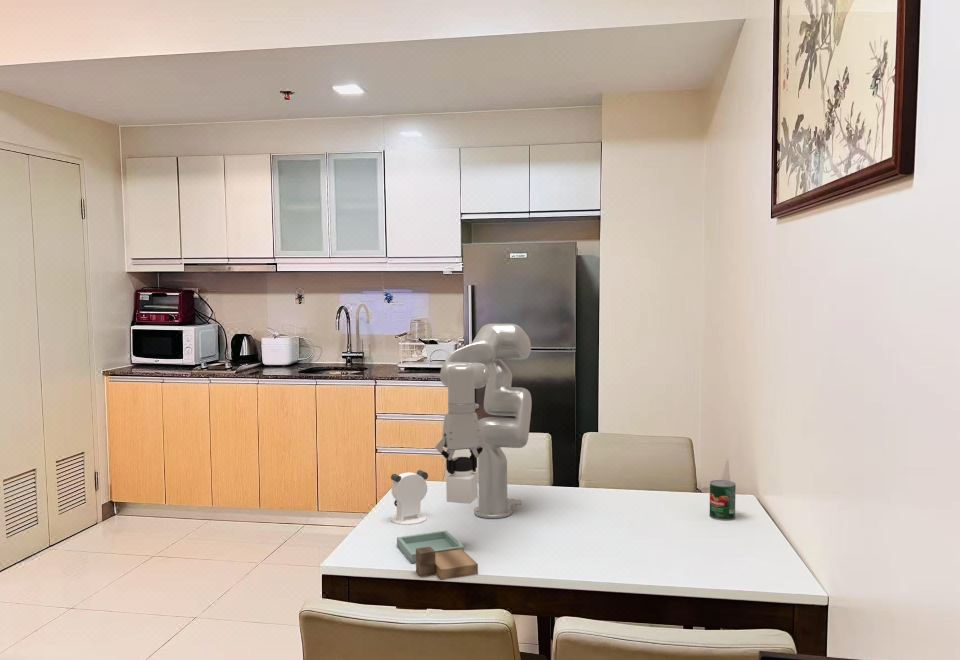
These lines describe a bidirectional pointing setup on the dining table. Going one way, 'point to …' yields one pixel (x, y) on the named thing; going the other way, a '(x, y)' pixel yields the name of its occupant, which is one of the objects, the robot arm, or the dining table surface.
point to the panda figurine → (409, 497)
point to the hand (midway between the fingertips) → (461, 471)
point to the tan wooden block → (454, 564)
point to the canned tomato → (722, 499)
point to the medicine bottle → (462, 482)
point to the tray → (427, 543)
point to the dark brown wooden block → (425, 561)
